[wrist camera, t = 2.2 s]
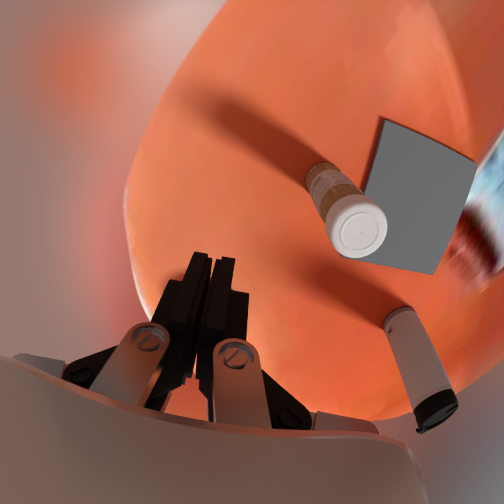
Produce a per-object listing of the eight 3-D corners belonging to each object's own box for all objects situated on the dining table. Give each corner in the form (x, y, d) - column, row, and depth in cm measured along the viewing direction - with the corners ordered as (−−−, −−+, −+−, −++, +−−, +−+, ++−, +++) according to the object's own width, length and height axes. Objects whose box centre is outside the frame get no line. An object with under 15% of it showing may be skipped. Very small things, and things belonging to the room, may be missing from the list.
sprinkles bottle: (325, 206, 32) (358, 270, 20) (296, 183, 31) (316, 237, 19) (351, 178, 30) (400, 228, 18) (322, 153, 29) (361, 189, 17)
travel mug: (374, 323, 41) (410, 431, 24) (406, 299, 39) (457, 404, 21) (390, 339, 43) (424, 436, 26) (420, 317, 41) (464, 412, 23)
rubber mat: (383, 119, 26) (385, 119, 26) (475, 163, 27) (478, 164, 27) (340, 255, 35) (341, 257, 35) (430, 272, 36) (432, 275, 36)
